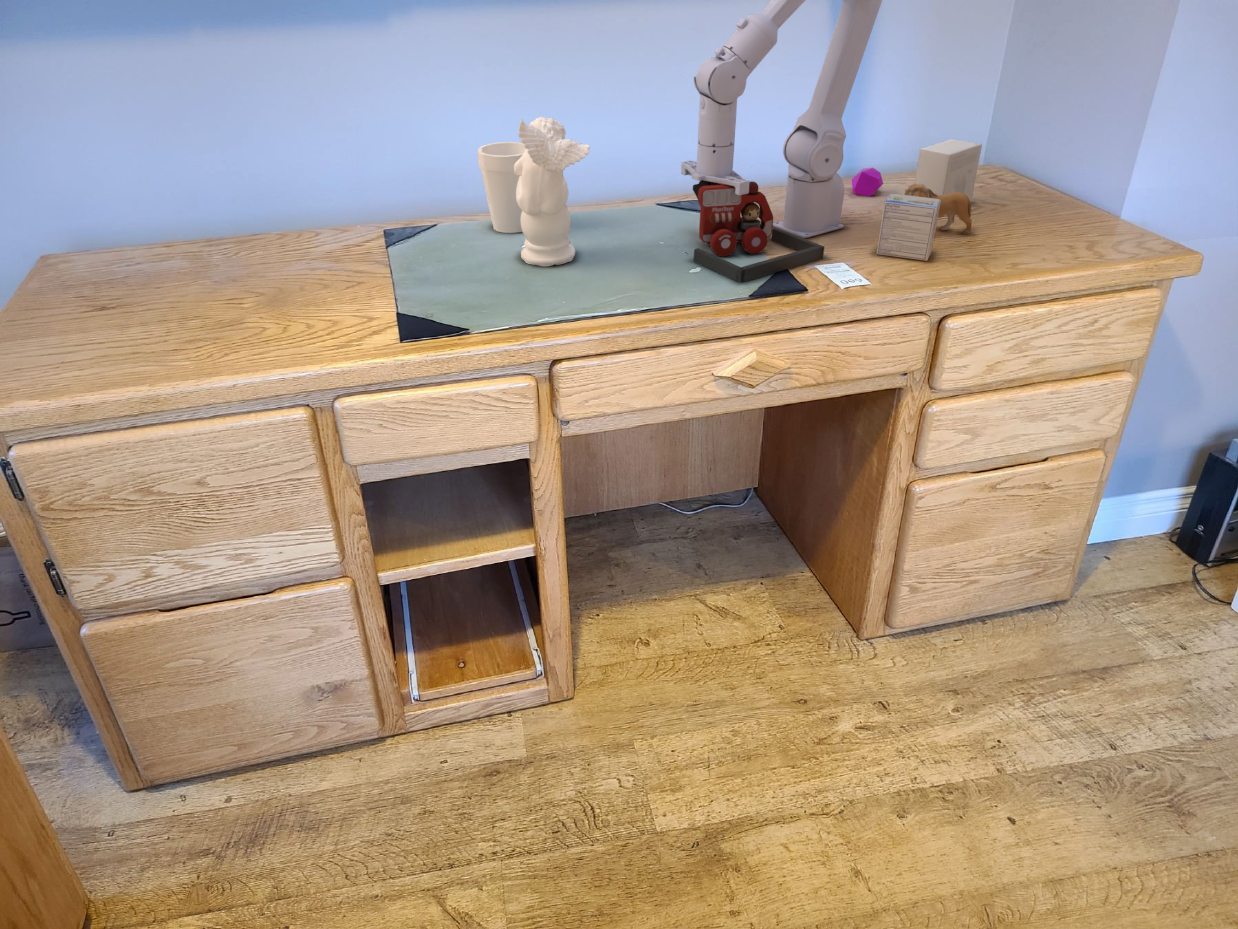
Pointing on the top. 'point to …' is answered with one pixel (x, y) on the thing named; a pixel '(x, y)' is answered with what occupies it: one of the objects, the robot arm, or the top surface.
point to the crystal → (867, 182)
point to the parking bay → (803, 255)
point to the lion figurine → (947, 205)
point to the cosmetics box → (949, 167)
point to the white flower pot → (501, 183)
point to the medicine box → (908, 226)
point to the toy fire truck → (734, 219)
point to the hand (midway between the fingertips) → (711, 228)
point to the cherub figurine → (545, 191)
